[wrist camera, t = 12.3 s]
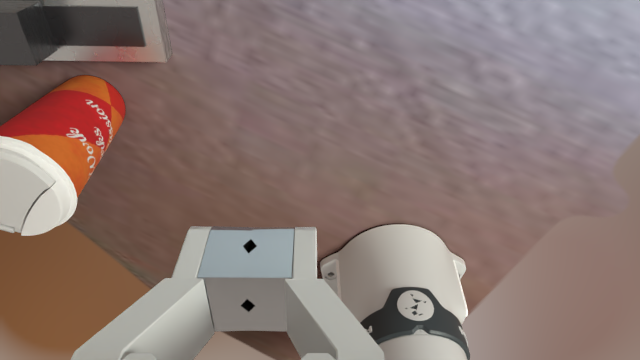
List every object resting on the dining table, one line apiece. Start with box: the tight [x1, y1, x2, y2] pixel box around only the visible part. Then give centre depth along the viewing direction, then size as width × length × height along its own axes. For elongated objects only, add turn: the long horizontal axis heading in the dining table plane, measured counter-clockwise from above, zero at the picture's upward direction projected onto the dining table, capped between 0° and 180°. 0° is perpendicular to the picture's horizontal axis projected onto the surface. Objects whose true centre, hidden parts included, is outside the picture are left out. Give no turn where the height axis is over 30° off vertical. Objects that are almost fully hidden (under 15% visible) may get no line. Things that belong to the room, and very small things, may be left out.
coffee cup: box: [0, 75, 125, 236], centre depth 36 cm, size 8×8×15 cm
